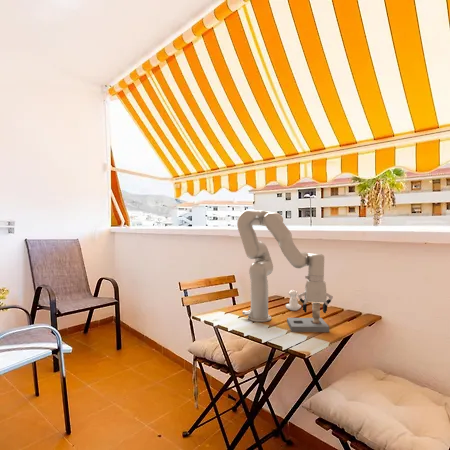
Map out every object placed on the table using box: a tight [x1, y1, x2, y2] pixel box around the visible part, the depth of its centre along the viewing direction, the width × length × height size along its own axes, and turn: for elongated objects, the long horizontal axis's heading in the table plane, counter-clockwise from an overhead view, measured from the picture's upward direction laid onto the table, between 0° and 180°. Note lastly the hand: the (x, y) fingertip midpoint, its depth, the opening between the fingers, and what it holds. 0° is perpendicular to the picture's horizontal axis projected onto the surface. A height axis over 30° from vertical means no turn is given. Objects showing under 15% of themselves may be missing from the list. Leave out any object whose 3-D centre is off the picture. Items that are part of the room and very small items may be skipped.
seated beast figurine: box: [285, 289, 302, 312], centre depth 193 cm, size 10×9×12 cm
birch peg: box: [311, 302, 321, 324], centre depth 161 cm, size 4×4×12 cm
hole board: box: [286, 317, 330, 333], centre depth 161 cm, size 18×14×2 cm
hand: (314, 312), depth 161 cm, fingers open, 9 cm apart
